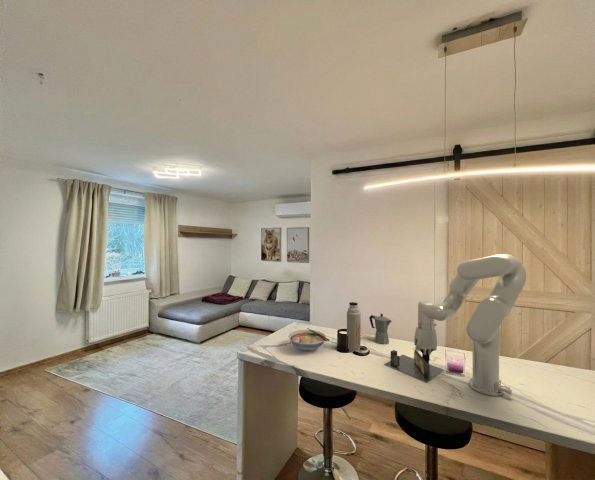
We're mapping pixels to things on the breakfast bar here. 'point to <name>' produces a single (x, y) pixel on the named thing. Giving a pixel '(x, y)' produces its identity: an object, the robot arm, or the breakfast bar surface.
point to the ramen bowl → (307, 339)
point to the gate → (419, 360)
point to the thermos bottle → (354, 327)
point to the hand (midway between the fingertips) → (425, 361)
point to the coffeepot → (381, 328)
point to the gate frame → (413, 367)
